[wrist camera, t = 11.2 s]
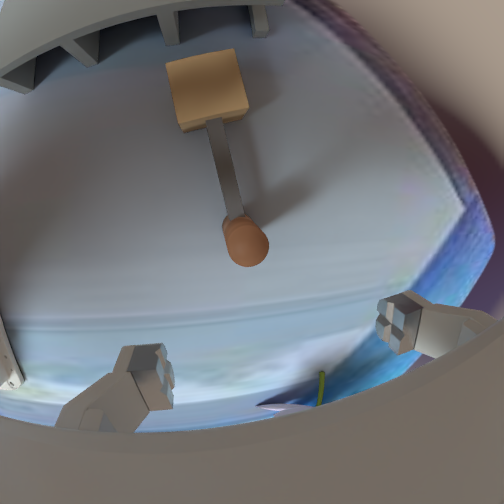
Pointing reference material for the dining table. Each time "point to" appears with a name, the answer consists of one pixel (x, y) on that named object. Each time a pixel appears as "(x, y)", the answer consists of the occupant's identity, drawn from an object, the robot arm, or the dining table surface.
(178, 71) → the toy hammer
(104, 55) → the dining table surface
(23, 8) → the shelf
